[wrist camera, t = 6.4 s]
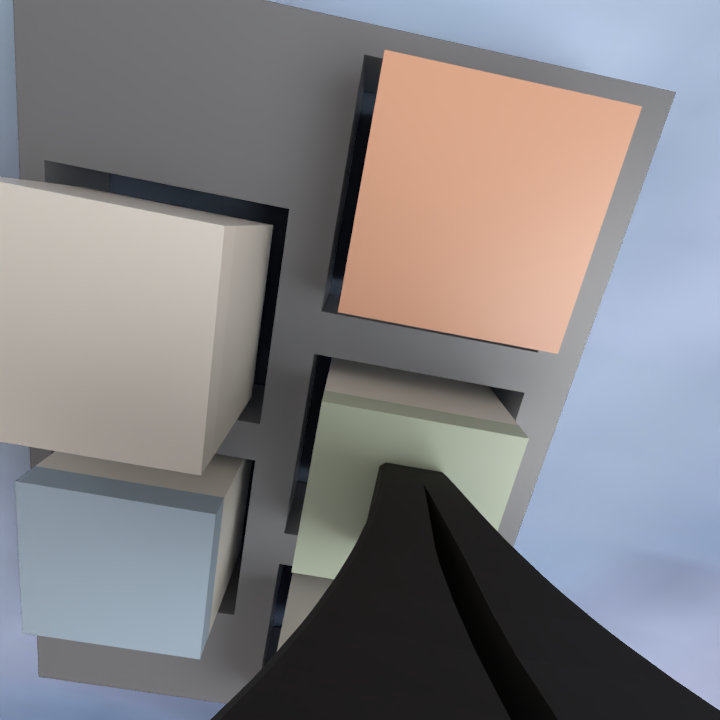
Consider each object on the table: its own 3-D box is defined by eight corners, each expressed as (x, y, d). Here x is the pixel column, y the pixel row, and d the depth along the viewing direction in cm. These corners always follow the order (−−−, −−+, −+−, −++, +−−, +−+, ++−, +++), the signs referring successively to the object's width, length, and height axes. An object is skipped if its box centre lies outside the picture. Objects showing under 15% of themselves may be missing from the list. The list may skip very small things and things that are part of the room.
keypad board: (434, 661, 16) (445, 735, 14) (86, 609, 15) (38, 676, 13) (609, 120, 11) (676, 92, 8) (90, 6, 10) (11, -57, 8)
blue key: (239, 552, 14) (199, 658, 11) (107, 531, 14) (22, 632, 10) (255, 436, 13) (215, 514, 9) (109, 410, 13) (14, 481, 9)
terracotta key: (500, 315, 12) (558, 353, 8) (345, 285, 11) (338, 311, 8) (550, 144, 10) (642, 106, 7) (377, 107, 10) (384, 49, 7)
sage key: (445, 504, 13) (473, 601, 10) (309, 481, 13) (291, 572, 10) (482, 377, 12) (529, 438, 9) (334, 350, 12) (321, 401, 9)
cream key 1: (251, 396, 11) (200, 475, 8) (81, 366, 11) (-49, 433, 7) (273, 224, 10) (225, 225, 6) (82, 186, 10) (-75, 166, 6)
